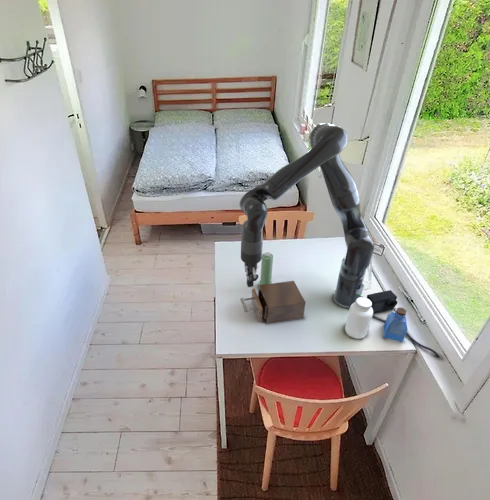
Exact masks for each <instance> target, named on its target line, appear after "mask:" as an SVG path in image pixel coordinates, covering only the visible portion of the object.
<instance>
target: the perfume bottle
mask: <svg viewBox="0 0 490 500" xmlns="http://www.w3.org/2000/svg"><path fill="white" fill-rule="evenodd" d="M406 316H407V309H406V308H404V307H397V308H396V310H395V311H393V312H391V313H388V314H387V316H386V319H385V322H384V325H383V336H384V337H383V338H384V339H386V340H392V341H396V342H402V343H403V342H404V340H405V337H406V333H408V322H407V317H406Z"/></svg>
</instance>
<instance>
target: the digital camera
mask: <svg viewBox="0 0 490 500" xmlns="http://www.w3.org/2000/svg"><path fill="white" fill-rule="evenodd" d="M366 298H367V299H369V300H370V301H371V302H372V306H371V307H372V309H373V315H374V314H379V313H383V312H388V311H392V310H394V309H395V307H396V306H397V304H398V300H397V298H398V296H397V294H396V293H394V292H393V290H392V289H389V290H383V291H379V292H374V293H369V294H367V295H366Z"/></svg>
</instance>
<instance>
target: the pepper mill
mask: <svg viewBox="0 0 490 500" xmlns="http://www.w3.org/2000/svg"><path fill="white" fill-rule="evenodd" d="M260 263H261V264H260V265H261V266H260V278H259V283H258V284H259V285H265V284H272V283H273V282H272V277H273V276H272V275H273V265H274V254H272V253H271V252H269V251H266V252H263V253H262V259H261V261H260Z"/></svg>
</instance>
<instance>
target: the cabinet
mask: <svg viewBox="0 0 490 500" xmlns="http://www.w3.org/2000/svg"><path fill="white" fill-rule="evenodd" d="M259 289H260V290H261V292H262V295H263V297H264V299H265V302H266V304H267V307H268V312H267V319H265V321H266V324H272V323H280V322H281V323H282V322H288V321H294V320H302V319H304V316H305V308H306V301H305V298H304V297H303V295H302V293H301V292H300V289H299V287H298V286H297V283H296V282H295V280H289V281H281V282H274V283H273V282H272V284H265V285H259V286H258V290H259Z"/></svg>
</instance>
